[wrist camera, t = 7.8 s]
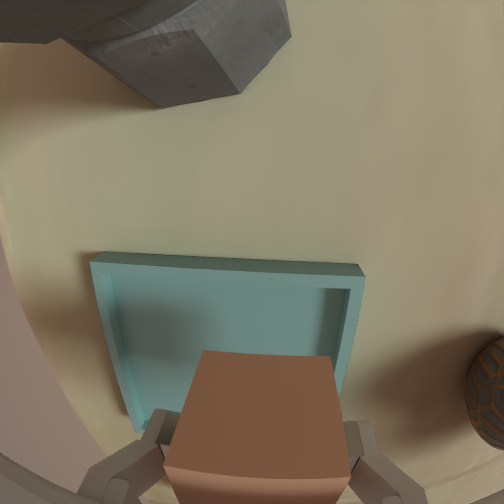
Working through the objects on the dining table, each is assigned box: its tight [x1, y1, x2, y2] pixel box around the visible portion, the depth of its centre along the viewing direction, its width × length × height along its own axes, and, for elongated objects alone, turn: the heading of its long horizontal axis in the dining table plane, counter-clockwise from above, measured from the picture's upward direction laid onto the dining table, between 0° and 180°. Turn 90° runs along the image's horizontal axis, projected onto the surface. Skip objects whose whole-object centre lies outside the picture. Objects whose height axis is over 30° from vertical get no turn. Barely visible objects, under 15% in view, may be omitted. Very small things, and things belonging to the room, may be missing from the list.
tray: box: [90, 252, 366, 433], centre depth 16 cm, size 13×13×2 cm
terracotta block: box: [163, 350, 351, 504], centre depth 9 cm, size 4×4×5 cm
